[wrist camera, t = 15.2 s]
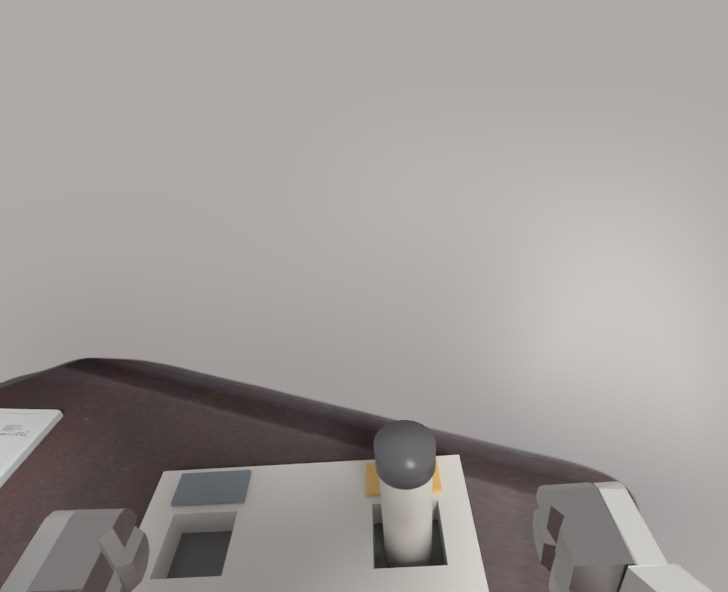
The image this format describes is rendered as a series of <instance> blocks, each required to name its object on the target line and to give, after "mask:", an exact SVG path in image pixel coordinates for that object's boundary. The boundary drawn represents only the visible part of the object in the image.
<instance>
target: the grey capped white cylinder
mask: <svg viewBox="0 0 728 592" xmlns="http://www.w3.org/2000/svg"><path fill="white" fill-rule="evenodd" d="M374 457H375V468H376V472H377V474H378V476H379V482H380V495H381V507H382V520H383V533H384V546H385V557H386V561H387V563H388V565H389V566H390V567H391V568H399V567H420V566H429V565H430V562H431V559H432V484H433V475H434V472H435V468H436V441H435V437H434V435H433V434H432V432H431V431H430V430H429V429H428V428H427V427H425V426H424V425H422V424H420V423H418V422H414V421H409V420H400V421H394V422H391V423H389V424H387V425H385V426H383V427H382V428H381V429H380V430H379V431H378V432H377V434H376V436H375V438H374Z"/></svg>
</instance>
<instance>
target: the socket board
mask: <svg viewBox="0 0 728 592" xmlns="http://www.w3.org/2000/svg"><path fill="white" fill-rule="evenodd" d="M139 529H140V530H142V531H144V532H145V534H146V536H147V538H148V542H149V549H150V552H149V559H148V566H147V569H146V572H145V574H144V577H143V580H142V582H141V583H140V584H139V585H138V586H137V587H136V588H135V589H134V590H133V591H132V592H489V590H488V586H487V581H486V577H485V572H484V567H483V563H482V558H481V554H480V549H479V545H478V540H477V535H476V531H475V526H474V522H473V517H472V512H471V508H470V503H469V499H468V494H467V489H466V485H465V480H464V476H463V471H462V467H461V462H460V457H459V455H447V456H436V468H435V472H434V475H433V484H432V559H431V562H430V565H429V566H420V567H399V568H391V567H390V566H389V565H388V563H387V561H386V557H385V546H384V533H383V520H382V507H381V495H380V482H379V476H378V474H377V472H376V468H375V460H357V461H339V462H322V463H304V464H286V465H268V466H250V467H232V468H214V469H196V470H179V471H164V472H163V474H162V477H161V479H160V481H159V484H158V486H157V488H156V491H155V493H154V495H153V498H152V500H151V502H150V504H149V507H148V509H147V511H146V514H145V516H144V518H143V521H142V523H141V525H140V528H139Z"/></svg>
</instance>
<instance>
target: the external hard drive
mask: <svg viewBox="0 0 728 592" xmlns="http://www.w3.org/2000/svg"><path fill="white" fill-rule="evenodd" d="M62 417H63V414H62V412H61V411H60V410H52V409H0V487H1V486H2V485H3V484H4V483H5V482H6V480H7V479H8V478H9V477H10V476H11V475H12V474H13V473H14V471H15V470H16V469H17V468H18V467H19V466H20V465H21V463H22V462H23V461H24V460H25V459H26V458H27V457H28V456H29V454H30V453H31V452H32V451H33V450H34V449H35V448H36V446H37V445H38V444H39V443H40V442H41V441H42V440H43V439H44V437H45V436H46V435H47V434H48V433H49V432H50V431H51V429H52V428H53V427H54V426H55V425H56V424H57V423H58V422H59V420H60V419H61V418H62Z"/></svg>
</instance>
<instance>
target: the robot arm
mask: <svg viewBox="0 0 728 592" xmlns="http://www.w3.org/2000/svg"><path fill="white" fill-rule="evenodd" d="M536 499H537V502H538V505H539V507H540V508H538V509H537V510H536V511H535V512H534V516H533V533H534V541H535V545H536V549H537V553H538V556H539V559H540V562H541V564H542V565H543V566H545V567H546V568H547V569H548V570H549V571H550V572H551V574H550V580H549V585H548V587H549V590H550V592H712V591H711V590H710V589H708V588H707V587H706V586H704V585H703V584H702V583H701V582H699V581H698V580H697V579H696V578H694V577H693V576H692V575H690V574H689V573H688V572H687V571H685V570H684V569H683V568H681V567H680V566H679V565H678V564H668V563H667V561H666V559H665V558H664V556H663V554H662V552H661V550H660V549H659V547H658V545H657V544H656V542H655V540H654V538H653V536H652V534H651V533H650V531H649V529H648V527H647V525H646V524H645V522H644V520H643V518H642V517H641V515H640V513H639V511H638V509H637V508H636V506H635V504H634V502H633V501H632V499H631V497H630V495H629V493H628V492H627V490H626V488H625V486H623V485H622V484H621V483H620V482H601V483H590V482H588V483H574V484H559V485H544V486H540V487H539V488H538V490H537V496H536ZM137 519H138V518H137V516H136V514H135V513H134V511H133V509H132V508H119V509H88V510H61V511H54V512H52V513H51V514H50V515H49V516H48V517H46V518H45V520H44V521H43V523H42V524H41V526H40V528H39V529H38V531H37V532H36V534H35V536H34V537H33V539H32V540H31V542H30V543H29V545H28V547H27V548H26V550H25V551H24V553H23V555H22V556H21V558H20V559H19V561H18V562H17V564H16V566H15V567H14V569H13V570H12V572H11V573H10V575H9V577H8V578H7V580H6V581H5V583H4V585H3V586H2V588H1V589H0V592H132V591H133V590H134V589H135V588H136V587H137V586H138V585H139V584H140V583H141V582H142V580H143V577H144V574H145V572H146V569H147V566H148V559H149V552H150V549H149V542H148V538H147V536H146V534H145V532H144V531H142V530H140V529H139V528H137V527H136V526H135V523H136V521H137Z"/></svg>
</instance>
